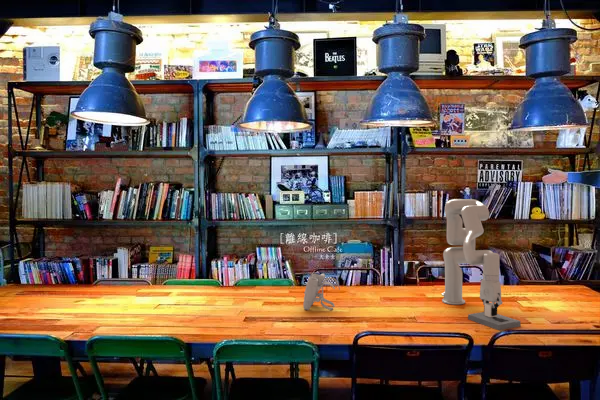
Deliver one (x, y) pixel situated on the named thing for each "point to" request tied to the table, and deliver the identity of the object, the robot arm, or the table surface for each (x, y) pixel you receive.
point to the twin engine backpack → (316, 291)
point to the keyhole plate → (494, 321)
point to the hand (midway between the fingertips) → (490, 313)
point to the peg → (488, 310)
